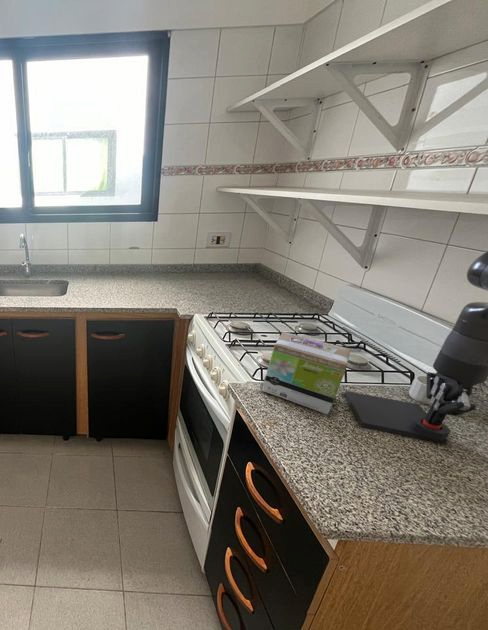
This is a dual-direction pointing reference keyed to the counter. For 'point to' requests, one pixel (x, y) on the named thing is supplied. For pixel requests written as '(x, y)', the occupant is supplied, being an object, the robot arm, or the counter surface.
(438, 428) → the button
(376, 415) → the scale
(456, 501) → the counter surface
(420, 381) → the white cup
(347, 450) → the counter surface
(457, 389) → the robot arm
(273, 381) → the tea box
